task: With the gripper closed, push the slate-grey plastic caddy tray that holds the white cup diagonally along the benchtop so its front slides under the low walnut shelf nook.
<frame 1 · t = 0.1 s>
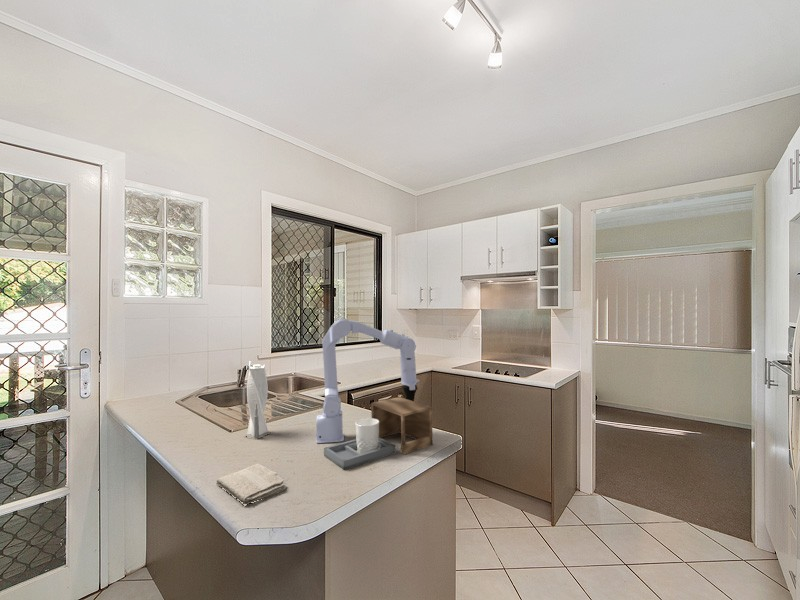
hand: (410, 404, 135), 11 cm above the countertop, fingers closed, pressing on shelf
skyscraper: (257, 434, 136), on the countertop
tray: (359, 454, 115), on the countertop
washcloth: (251, 489, 96), on the countertop
white cup: (367, 452, 117), resting in tray
shelf: (401, 441, 126), on the countertop
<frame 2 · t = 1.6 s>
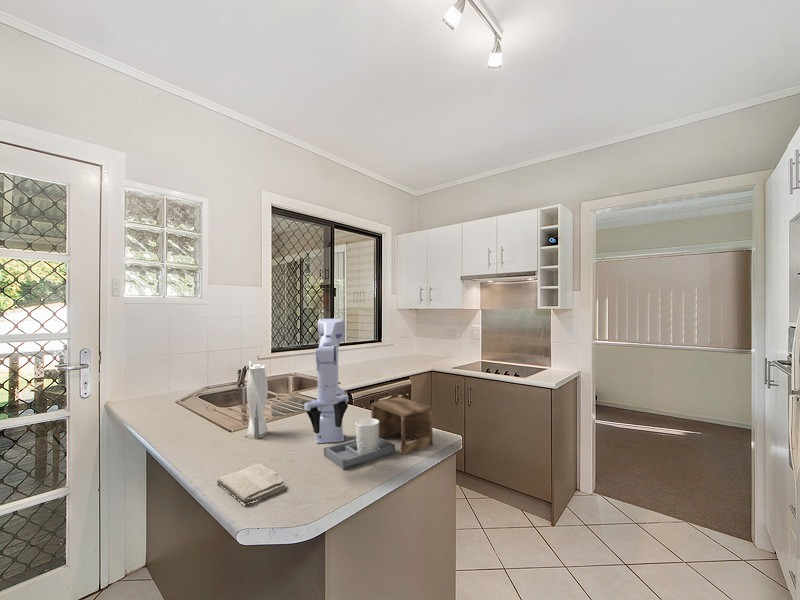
hand: (327, 429, 109), 10 cm above the countertop, fingers open, 7 cm apart
nothing on the countertop moved.
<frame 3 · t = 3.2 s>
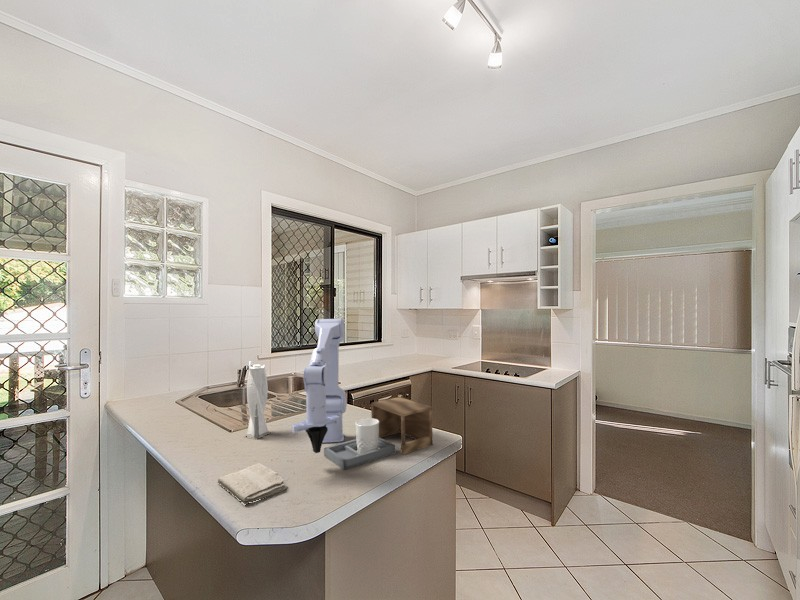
hand: (316, 451, 106), 5 cm above the countertop, fingers closed
nothing on the countertop moved.
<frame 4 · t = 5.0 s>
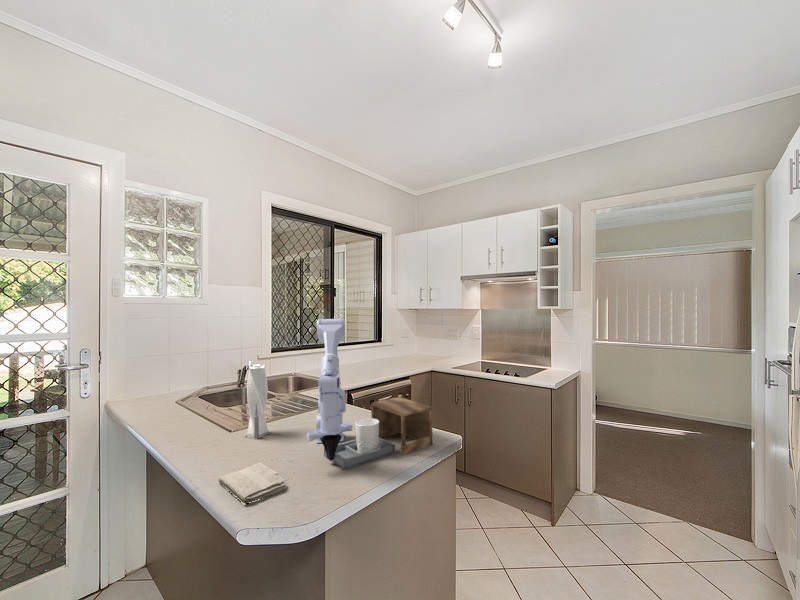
hand: (330, 459, 109), 1 cm above the countertop, fingers closed
tray: (359, 454, 115), on the countertop, touching gripper
everything else where it was.
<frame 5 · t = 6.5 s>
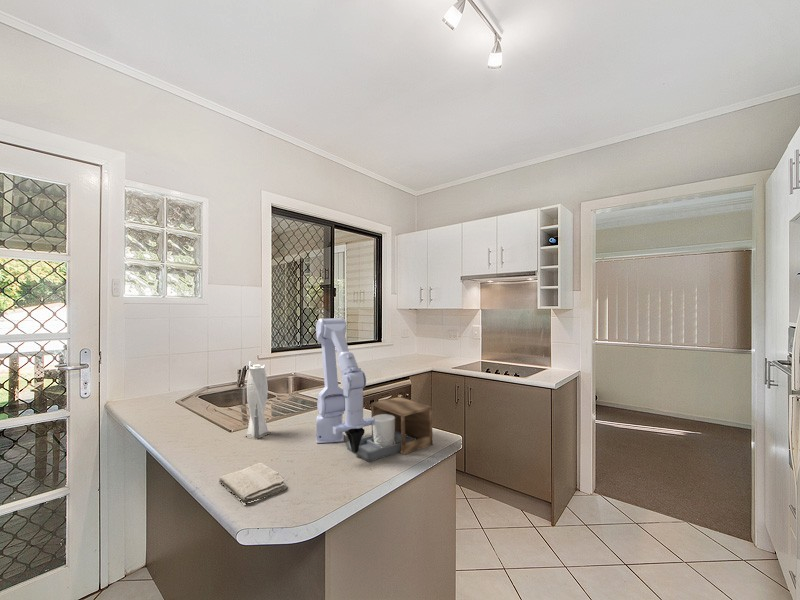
hand: (354, 451, 114), 1 cm above the countertop, fingers closed
tray: (381, 448, 121), on the countertop, touching gripper
white cup: (384, 447, 122), resting in tray
everything else where it was.
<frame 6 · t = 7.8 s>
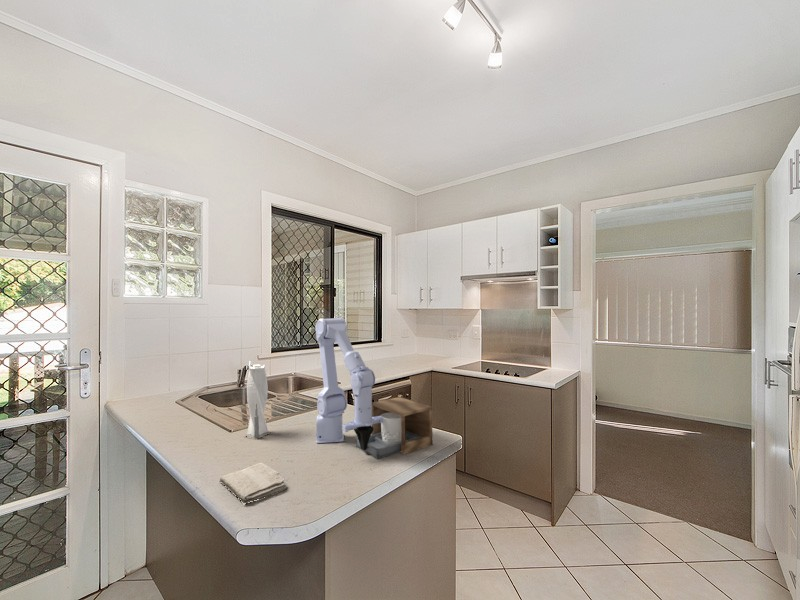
hand: (363, 449, 116), 1 cm above the countertop, fingers closed
tray: (389, 445, 123), on the countertop, touching white cup, gripper
white cup: (392, 444, 124), resting in tray
everything else where it was.
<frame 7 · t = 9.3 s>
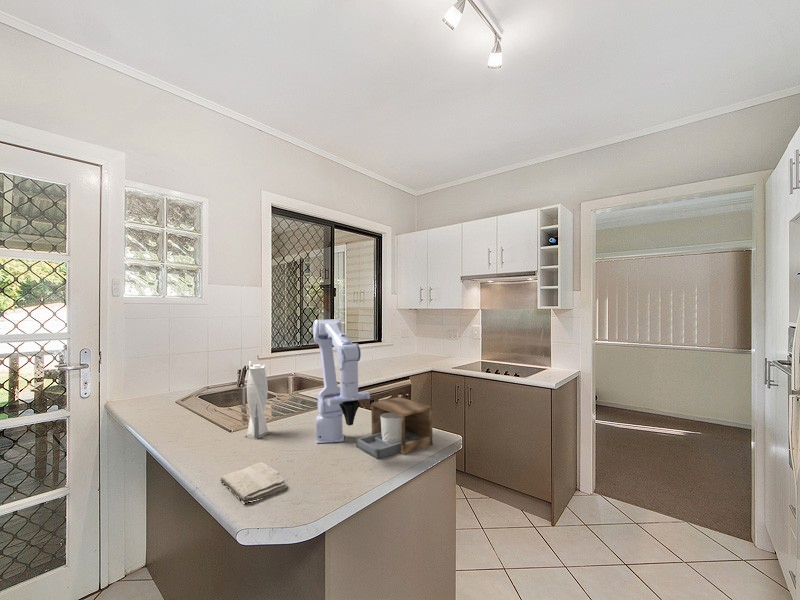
hand: (349, 424, 114), 10 cm above the countertop, fingers closed
tray: (389, 445, 123), on the countertop
white cup: (392, 444, 124), resting in tray
everything else where it was.
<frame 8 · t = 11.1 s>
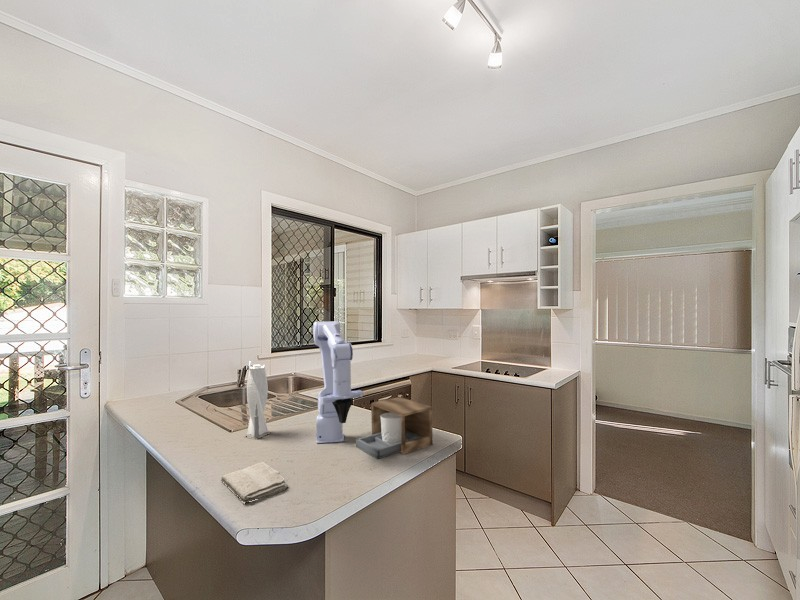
hand: (342, 422, 116), 10 cm above the countertop, fingers closed
at the end: white cup 4.0 cm from the shelf (horizontally); tray 5.4 cm from the shelf (horizontally); white cup tilted 0° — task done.
